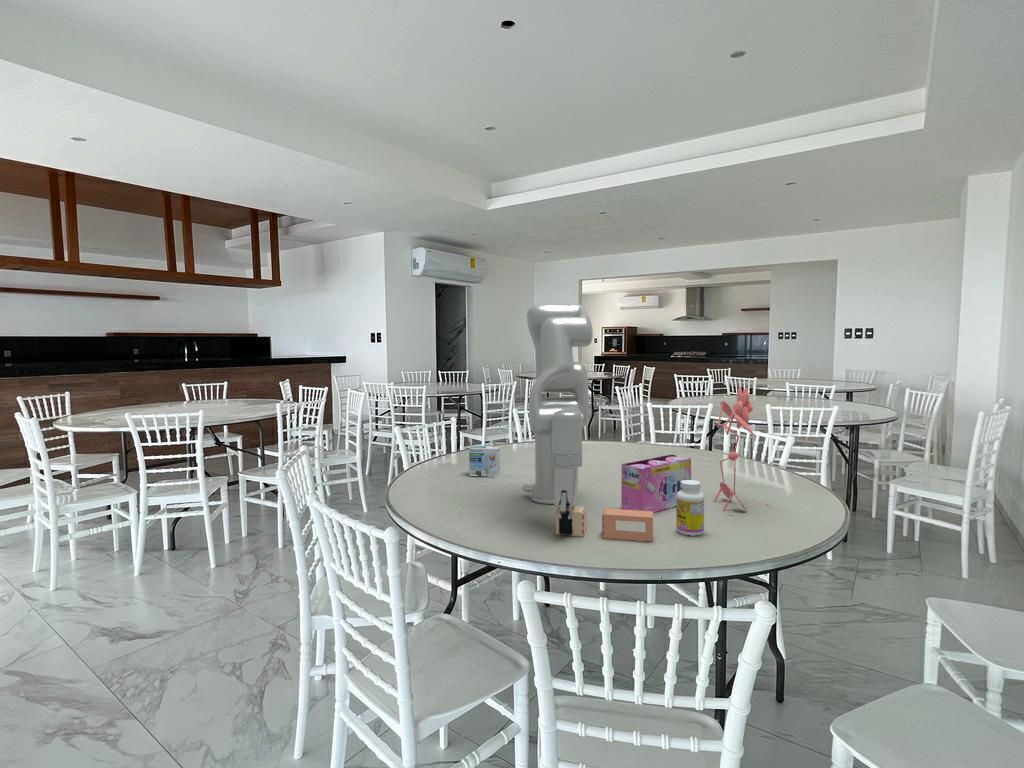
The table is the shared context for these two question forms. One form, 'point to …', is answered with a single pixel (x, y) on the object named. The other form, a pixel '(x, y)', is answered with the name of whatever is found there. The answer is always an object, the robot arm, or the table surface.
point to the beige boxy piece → (574, 520)
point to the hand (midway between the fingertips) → (567, 529)
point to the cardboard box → (627, 524)
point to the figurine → (742, 418)
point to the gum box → (653, 482)
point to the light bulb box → (484, 460)
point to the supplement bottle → (690, 509)
